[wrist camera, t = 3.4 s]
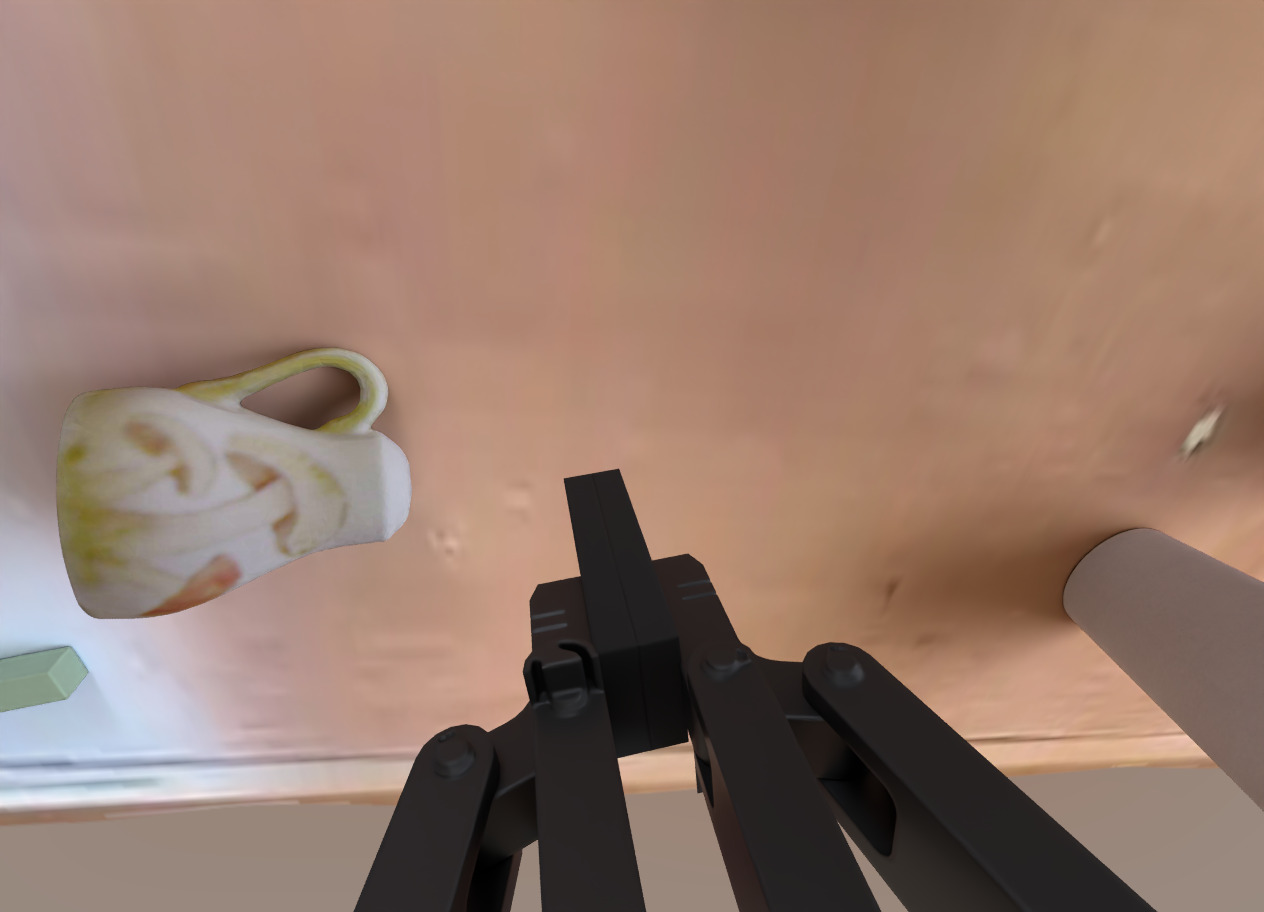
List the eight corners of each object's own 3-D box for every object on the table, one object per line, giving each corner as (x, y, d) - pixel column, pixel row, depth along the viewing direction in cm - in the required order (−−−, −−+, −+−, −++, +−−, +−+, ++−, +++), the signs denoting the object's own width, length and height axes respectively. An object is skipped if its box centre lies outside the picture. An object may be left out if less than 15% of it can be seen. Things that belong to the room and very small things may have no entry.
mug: (441, 533, 26) (247, 742, 19) (247, 439, 28) (-12, 599, 20) (457, 387, 22) (210, 581, 14) (225, 283, 23) (-124, 408, 15)
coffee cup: (1037, 667, 37) (1332, 958, 24) (1035, 543, 33) (1396, 818, 19) (1188, 607, 37) (1567, 865, 24) (1207, 476, 33) (1685, 704, 19)
